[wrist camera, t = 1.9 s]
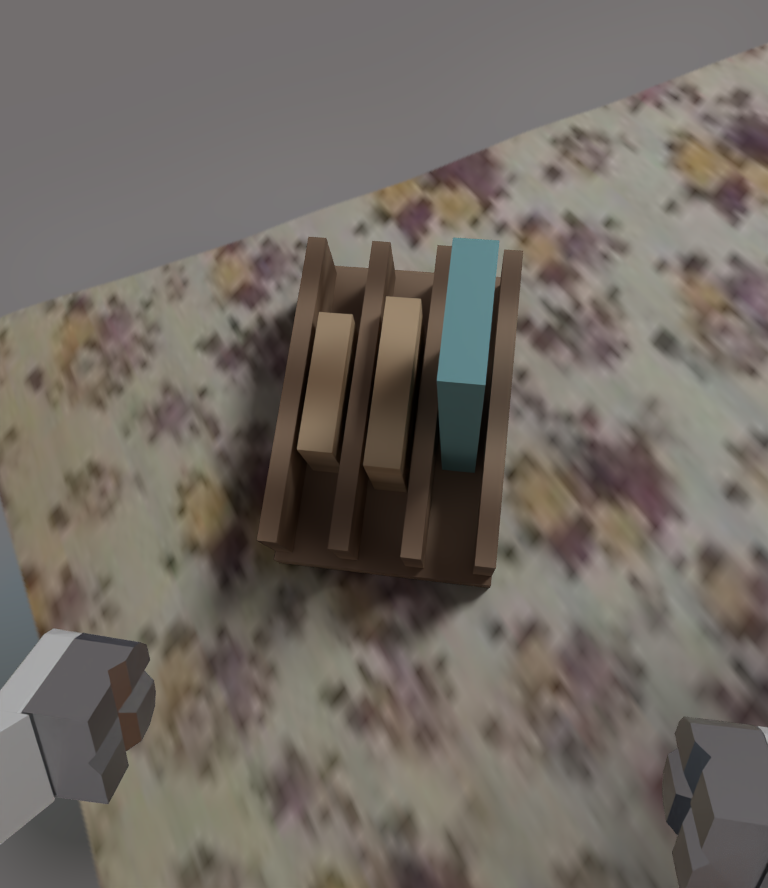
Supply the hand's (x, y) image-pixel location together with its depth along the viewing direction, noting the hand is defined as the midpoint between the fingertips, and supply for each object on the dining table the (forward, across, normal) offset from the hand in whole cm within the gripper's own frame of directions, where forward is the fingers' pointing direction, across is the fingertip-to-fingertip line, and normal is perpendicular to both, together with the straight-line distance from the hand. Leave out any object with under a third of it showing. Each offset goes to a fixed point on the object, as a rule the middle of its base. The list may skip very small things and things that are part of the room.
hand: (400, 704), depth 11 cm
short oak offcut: (+29, +4, +10) cm, 31 cm away
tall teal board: (+29, 0, +10) cm, 31 cm away
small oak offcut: (+29, +7, +10) cm, 32 cm away
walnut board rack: (+30, +4, +11) cm, 33 cm away
